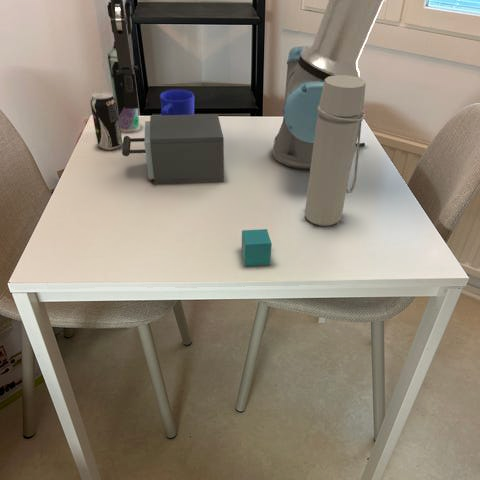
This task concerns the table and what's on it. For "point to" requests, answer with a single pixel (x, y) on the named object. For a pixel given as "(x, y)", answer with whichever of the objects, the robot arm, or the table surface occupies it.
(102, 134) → the beverage can
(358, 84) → the water bottle
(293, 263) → the table surface
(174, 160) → the grey drawer cabinet
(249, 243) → the cube
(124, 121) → the spray can
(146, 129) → the drawer
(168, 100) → the mug
